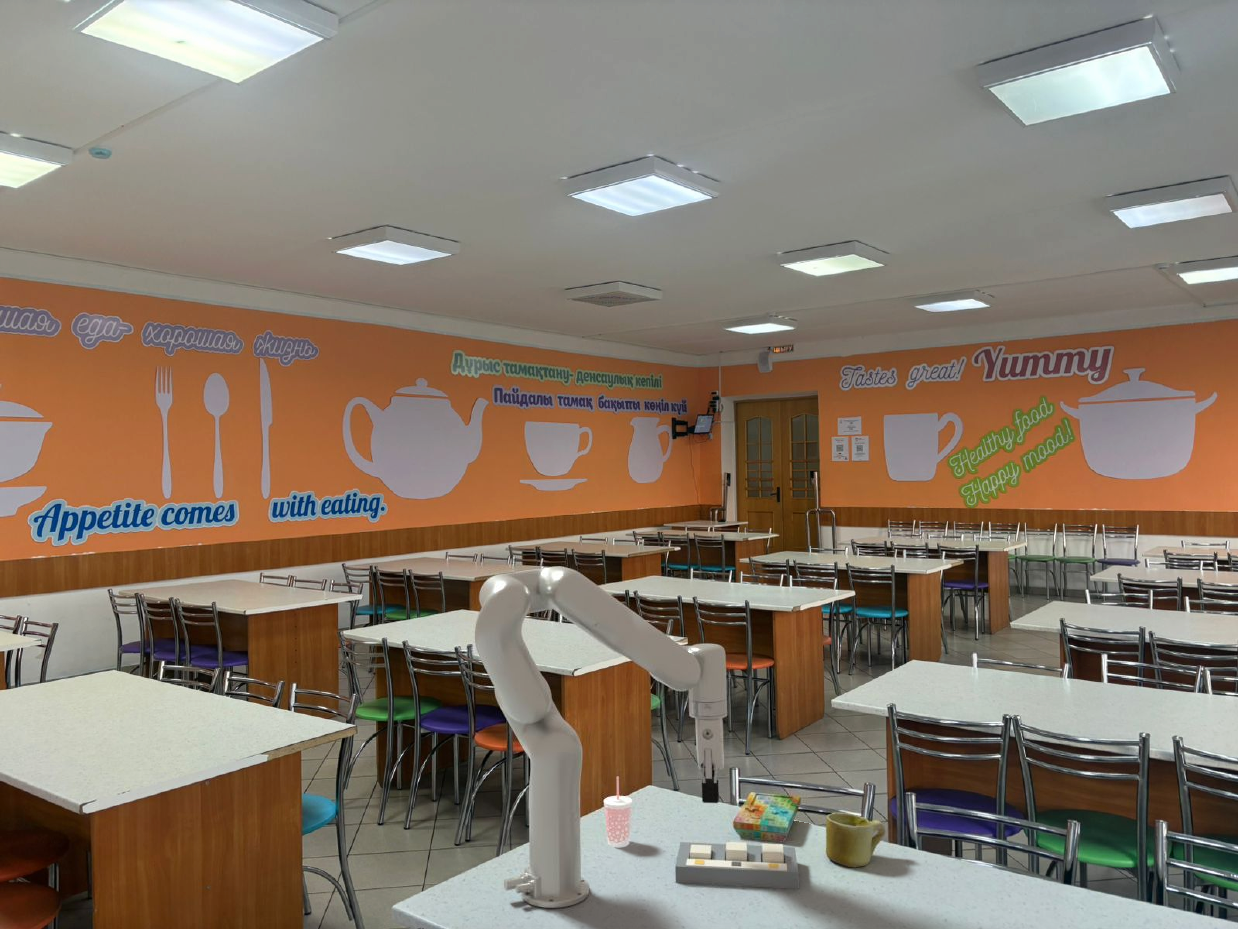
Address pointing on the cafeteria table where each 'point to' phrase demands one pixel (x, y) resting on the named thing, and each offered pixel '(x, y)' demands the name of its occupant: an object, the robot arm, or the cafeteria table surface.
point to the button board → (736, 868)
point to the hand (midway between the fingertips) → (710, 801)
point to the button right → (772, 853)
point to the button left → (701, 852)
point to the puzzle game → (766, 816)
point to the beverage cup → (618, 819)
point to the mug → (851, 838)
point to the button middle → (736, 851)
